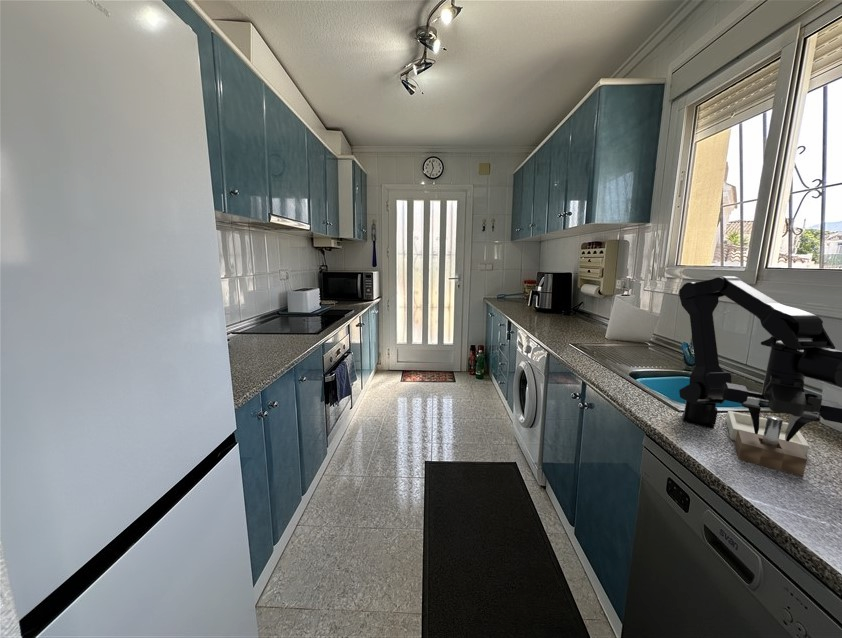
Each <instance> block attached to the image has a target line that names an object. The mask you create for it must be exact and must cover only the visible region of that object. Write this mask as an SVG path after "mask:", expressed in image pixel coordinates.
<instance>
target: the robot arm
mask: <svg viewBox="0 0 842 638" xmlns="http://www.w3.org/2000/svg"><path fill="white" fill-rule="evenodd" d="M742 280H743V279H741V278H740V277H737V276H724V275H723V276H718V277H715V278H712V279H706V280H702V281H698V282H696V281H695V282H691V281H690V282H686V283H684V284H682V286H681V288H679V290H678V291H679V292H678V296H679V300H680V304H681V307H683V309H684V310H685V311H686V313H687V314H688V315H689V320H690V330H691V337H692V338H691V339H692V347H693V348H692V349H693V355H694V364H695V365H694V368H693V370H692V371H691V373H690V375H689V384H687V385H686V386H684V387H682V388H680V389H679V392H678V393H679V397H680V399H683V400H684V401H685V404H684V410H683V413H682V423H683V422H684V423H687V424H692V425H695V426H701V427H704V428H708V429H714V425H716V423H717V416H718V411H719V410H718V408H717V404H719V405H720V404H721V405H722V404H724V402H725V401H727V402H731V403H732V402H733V403H737V404H741V406H742V407H744V408H747V410H748V412H749V415H751V419H752V424H753V428H754V432H755V434H758V431H759V417H760V416H761V415H760V413H761V406H760V405H759V404H760V402H761V403H766V404H768V405H769V407H768V409H769V410H771V411H772V412H774V413H779V414H780V413H783V414H786V415H787V414H788V415H790V418H789V421H788V423H789V424H788V427H787V430H786V435H785V440H786V441H790V439H791V438H792V437H793V436H794V435H795V434H796V433H797V432H798V431H800V430H801V429H802V428H803V427H805V425H807V424H809V423H812V422H813V423H814V422H816V423H820V422H821V419H820V417H821V418H822V419H823V420H824V421H828V422H833V423H839V424H842V404H841V403H839V402H838V401H833V400H827V399H823V396H822V395H821V394H815V393H812V392H811V393H810V392H805V388H804V387H805V378H808V379H811V380H814V381H817V382H821V383H824V384H827V385H831V386H834V387H837V388H840V389H842V350H839V349H836V346H835V345H834V343H833V341H832V340H831V338H830V336H829V335H828V333H827V331H826V329H825V328H824V326H823V325H824V322H823V320H822V318H821V317H819V315H816V314H815V313H814V314H813V313H811V312H808V311H805V310H803V309H801V308H798V307H792V306H788V305H785V304H782V303H780V302H778V301H776V300H775V299H774V298H771V297H769V296H768V295H767V294H765V293H762V291H759V290H757V288H754V287H752V286H750V285H749V284H748V283H746V282H744V281H742ZM722 297H726V298H728V300H730V301H732V302H734V303H735V304H737V305H739V306H740V307H741V308H743V309H744V310H746V311H747V312H749V313H750V314H752V315H753V316H755V317H756V318H757V319H758V320H759V321H760V324H761V327H762V328H763V329H764V330H765V331H766V332H767V333H768V334H769V335H770V336H771V337H769V338H767V339H765V340H763V341H761V342H760V345H761V346H765V347H770V352H769V357H768V361H767V366H766V370H765V377H764V380H763V384H762V385H763V386H762V390H761V392H757V391H751V390H748V389H747V387H746V385H741V384H737V383H736V384H734V383H732V375H731V372H725V371H724V370H723V369H722V368H721V366H720V363H719V355H718V346H717V339H716V338H717V337H716V332H715V329H716V328H715V323H714V321H715V320H714V311H716V308H717V306H718V305H719V300H720V299H719V298H722ZM819 416H820V417H819Z"/></svg>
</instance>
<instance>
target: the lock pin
mask: <svg viewBox="0 0 842 638" xmlns="http://www.w3.org/2000/svg"><path fill="white" fill-rule="evenodd" d="M766 419H767V422H766V426H765V431H764V436H763V440H762V444H764V445H768V446H772V447H776V448H777V445H778V440H779V436H780V431H781V427H782V422H784V421H783V419H782V418H780V417H777V416H773V415H767V418H766Z"/></svg>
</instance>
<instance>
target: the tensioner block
mask: <svg viewBox="0 0 842 638" xmlns="http://www.w3.org/2000/svg"><path fill="white" fill-rule="evenodd" d="M763 436H764V435H760V434H755V433H752V432H747V431H743V430H739V429H738V431H737V436H736V441H735V440H734V441H735V442H734V446H735V449H736V454H737V457H738V460H740V461H743V462H747V463H751V464H755V465H758V466H762V467H766V468H770V469H773V470H776V471H780V472H785V473H788V474H791V475H796V476H799V477H802V478H803V477H804V475H805V471H806V466H807V462H808V457H807V458H806V457H805V455H804V453H803V452H802V450H801V448H800V447H799V445H798V443H794V442H790V441H786V440H782V439H779V440H778V445H777V448H776V447H772V446H768V445H764V444H762V440H763Z"/></svg>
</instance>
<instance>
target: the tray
mask: <svg viewBox="0 0 842 638" xmlns="http://www.w3.org/2000/svg"><path fill="white" fill-rule="evenodd" d="M725 421H726V425H727V429H728V433H729V437H730V440H732V441H736V436H737V431H738V429H739V430H743V431H747V432H752V433H755V432H754V428H753V424H752V419H751V415H750V414H747V413H742V412H737V411H731V410H727V415H726V420H725ZM766 422H767V418H765V417H760V416H759V431H758V434H760V435H764V431H765V426H766ZM788 424H789V422H786V421H783V422H782V427H781V431H780V436H779V439H782V440H785V435H786V430H787V427H788ZM790 442H794V443H798V445H799V447H800V448H801V450H802V452H803V453H804V455H805V457H806V458H807V459H808V455H809V454H808V453H809V450H810V445H809V443H808V442H807V440H806V439H805V437H804V436H803V434H802V433H801V431H800V430H799V431H798V432H797V433H796V434H795V435H794V436H793V437H792V438H791V439H790Z"/></svg>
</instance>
